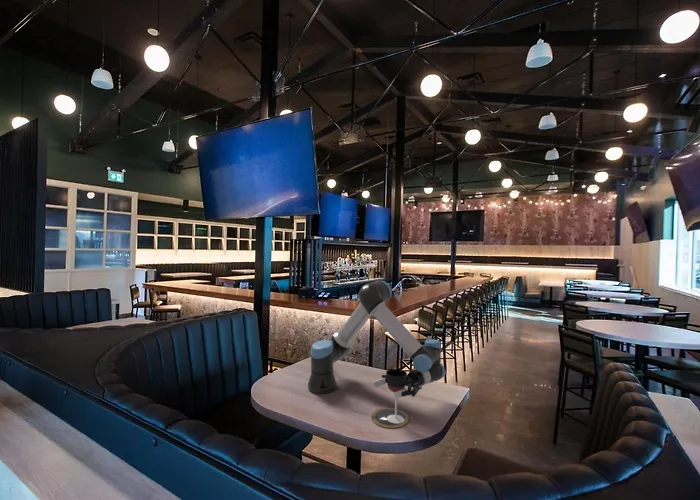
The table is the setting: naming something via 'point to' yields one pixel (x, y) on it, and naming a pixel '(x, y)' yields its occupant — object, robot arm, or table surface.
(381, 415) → the coaster
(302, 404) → the table surface
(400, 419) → the wineglass
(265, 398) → the table surface
